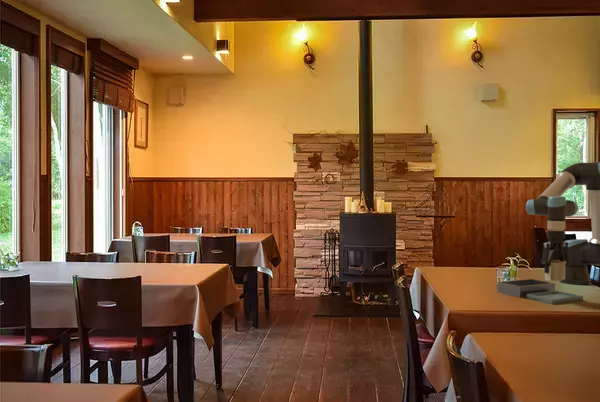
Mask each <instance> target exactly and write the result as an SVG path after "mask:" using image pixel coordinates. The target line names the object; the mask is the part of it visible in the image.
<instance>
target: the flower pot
mask: <svg viewBox="0 0 600 402" xmlns="http://www.w3.org/2000/svg"><path fill="white" fill-rule="evenodd" d="M547 263H548V262H547ZM550 263H551V264H550V266H551V281H552V282H560V281H562V278H563V272H564V267H565V264H566V263H567V262H565V261H560V260H559V259H558V260H557V259H552V261H551V262H550ZM551 281H550V282H551Z"/></svg>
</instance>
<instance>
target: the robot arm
mask: <svg viewBox="0 0 600 402" xmlns="http://www.w3.org/2000/svg"><path fill="white" fill-rule="evenodd" d="M575 186H585V189H586V191H588V192H589V200H590V219H591V222H590V223H591V236H592V237H590V239H589V240H588V239H587V238H586V239H585V238H584V239H579V238H578V239H569V240H568V239H567V240H565V239H566V231H565V230H566V217H567V218H570V217H572V216H575V215H576V214H577V213H578V210H579V206H578V204H577V202H575V201H574V200H571V199H567V198H566V197H565V196H563V195H564V194H565V193H566V192H567V190H568V189H572V188H573V187H575ZM525 211H526V213H527V214H528V215H532V216H547V228H546V229H547V231H546V238H547V239H548V241H547V242H543V243H542V256H541V261H540V265H542V266H544V270H543V271H544V281H547V282H551V266H550V264H551V263H550V262H551V261H552V260H553V258H554V255H555V253H556V252H557V256H558V257H557V258H558V260H559V261H565V262H567V263H566V264H565V267H564V272H563V278H562V281H559V282H560V283H563V284H568V285H569V284H570V285H591V278H590V275H589V271H588V265H592V266H593V265H594V266H600V161H596V162H595V161H593V162H591V161H590V162H576V163H573V164H571V165H569V166H567V167H565V168H564V169H562V170H561V171H559V173H558V174H557V175H556V178H555V180H554V181H553V182H552V183H551V184H550V185H549V186H547V188H546V189H545V190H544V191H543V192H542V193H540V195H539V196H538V197H537V198H536V199H535V198H531V199H528V200H527V202H526V204H525ZM564 240H565V241H564ZM547 262H548V263H547Z"/></svg>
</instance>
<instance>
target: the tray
mask: <svg viewBox="0 0 600 402" xmlns="http://www.w3.org/2000/svg"><path fill="white" fill-rule="evenodd" d="M526 299H528V300H533V301H536V302H541V303H546V304H549V305H555V304H565V303H573V302H580V301H582V302H583V301H584V295H580V294H575V293H570V292H565V291H561V290H555V291H550V292H540V293H531V294H527V297H526Z"/></svg>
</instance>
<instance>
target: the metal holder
mask: <svg viewBox="0 0 600 402" xmlns="http://www.w3.org/2000/svg"><path fill="white" fill-rule="evenodd" d="M496 285H497V288H496V291H497V293H499V294H503V295H509V296H512V297H516V298H527V294H531V293H540V292H550V291H556V283H555V282H551V281H547V280H540V279H534V278H528V279H516V280H504V281H497V283H496Z"/></svg>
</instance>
